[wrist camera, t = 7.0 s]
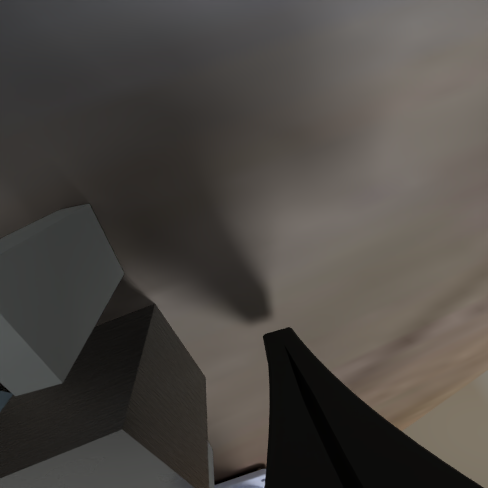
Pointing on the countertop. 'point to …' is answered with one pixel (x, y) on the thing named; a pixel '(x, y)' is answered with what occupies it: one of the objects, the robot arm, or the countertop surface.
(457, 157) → the countertop surface
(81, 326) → the grey long flat piece
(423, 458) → the robot arm
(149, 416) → the block
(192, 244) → the countertop surface
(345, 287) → the countertop surface
